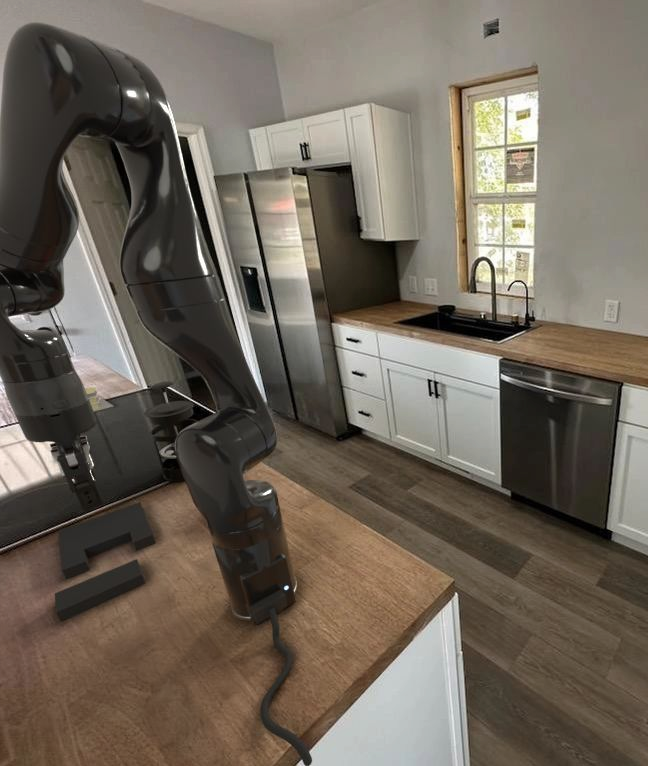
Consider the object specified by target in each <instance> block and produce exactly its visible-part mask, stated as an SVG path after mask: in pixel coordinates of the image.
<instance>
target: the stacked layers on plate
mask: <svg viewBox="0 0 648 766" xmlns="http://www.w3.org/2000/svg"><path fill="white" fill-rule="evenodd" d="M84 388H85V390H86V393H87V396H88V398H89V401H90V404H91V406H92V409H93V411H94V412H98V411H101V410H106V409H110V408H114V407H115V406H114V405H113V404H111V403H110V402H109V401H107V400H105V399H104V398H102V399H100V397H99V396H98V391H97V390H96V389H97V388H96V387H95V386H92V387H91V386H90V387H84Z"/></svg>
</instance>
